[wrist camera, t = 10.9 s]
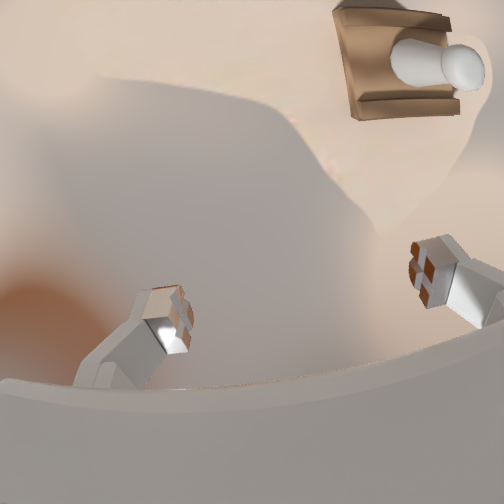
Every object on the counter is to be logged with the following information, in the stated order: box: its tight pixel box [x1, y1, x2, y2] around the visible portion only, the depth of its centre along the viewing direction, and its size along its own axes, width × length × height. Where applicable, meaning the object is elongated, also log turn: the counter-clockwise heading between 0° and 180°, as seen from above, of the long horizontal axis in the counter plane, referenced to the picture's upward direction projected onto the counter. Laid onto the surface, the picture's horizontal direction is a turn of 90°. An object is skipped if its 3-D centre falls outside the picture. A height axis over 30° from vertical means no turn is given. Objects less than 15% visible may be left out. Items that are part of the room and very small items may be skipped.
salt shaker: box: [389, 38, 485, 92], centre depth 21 cm, size 6×6×13 cm
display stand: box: [332, 7, 460, 121], centre depth 27 cm, size 14×14×4 cm
